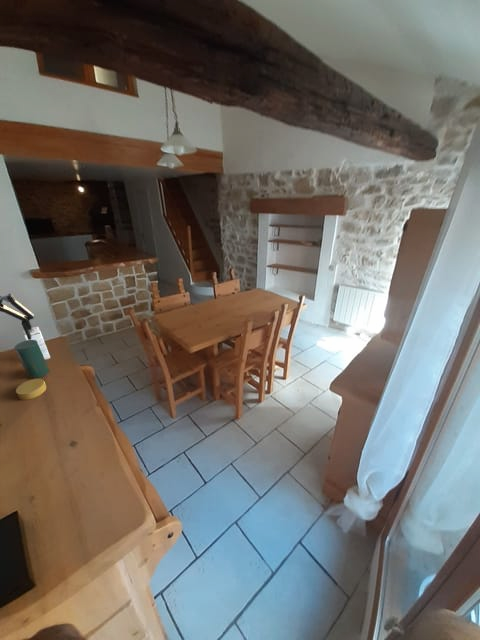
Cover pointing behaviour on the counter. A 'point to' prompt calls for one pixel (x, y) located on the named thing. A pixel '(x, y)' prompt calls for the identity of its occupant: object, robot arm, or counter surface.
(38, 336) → the syrup box
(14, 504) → the counter surface
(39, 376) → the green upright cylinder
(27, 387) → the lid
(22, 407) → the counter surface
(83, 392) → the counter surface
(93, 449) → the counter surface
